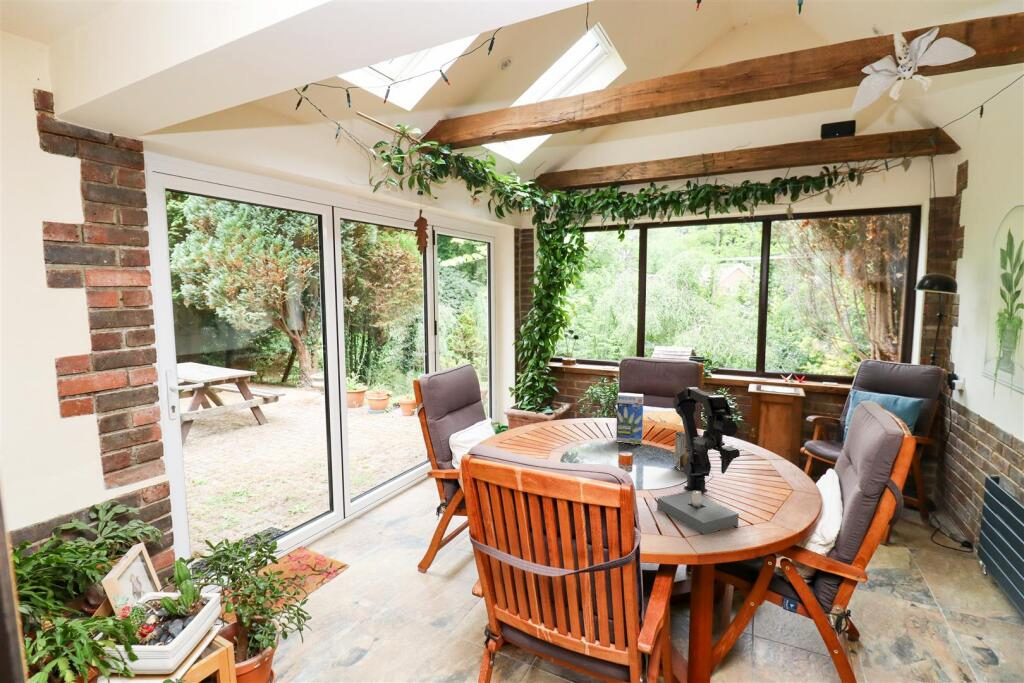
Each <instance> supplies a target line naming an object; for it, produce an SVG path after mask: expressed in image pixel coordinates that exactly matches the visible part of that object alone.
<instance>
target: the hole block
mask: <svg viewBox="0 0 1024 683" xmlns="http://www.w3.org/2000/svg"><path fill="white" fill-rule="evenodd" d="M656 502H657V503H656V505H657V508H656V509H657V510H659V511H660V512H662V513H664V514H666V515H668V516H670V517H671V518H674V519H675V520H677V521H679V522H680V523H682V524H684V525H686V526H688V527H689V528H691V529H693V530H695V531H696V532H698V533H700V534H701V535H707V534H710V533H711V534H712V533H714V532H717V531H720V530H725V529H728V528H732V527H735V526H738V525H739V516H740V515H739V513H738V512H737V511H734V510H732V509H730V508H728V507H725V506H723V505H722V504H720V503H717V502H715V501H713V500H711V499H709V498H707V497H705V496H703V495H701V508H700V509H695V508H693V507H692V491H689V490H687V491H683V492H678V493H674V494H669V495H665V496H662V497H661V496H660V497H658V498H657V501H656Z"/></svg>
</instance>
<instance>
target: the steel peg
mask: <svg viewBox="0 0 1024 683" xmlns="http://www.w3.org/2000/svg"><path fill="white" fill-rule="evenodd" d="M702 493H703V492H701V491H698V490H694V491H693V492H692V507H693V508H695V509H700V508H701V496H702Z"/></svg>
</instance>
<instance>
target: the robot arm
mask: <svg viewBox="0 0 1024 683" xmlns="http://www.w3.org/2000/svg"><path fill="white" fill-rule="evenodd" d="M672 402H673V405H672V406H673V407H674V410H675V412H676V414H677V415H678V416H679V417H681V418H680V419H681V421H682V426H683V429H684V430H683V432H685V435H686V440H687V444H688V449H689V454H688V457H687V464H686V465H685V466H684V467H683V474H684V475H685V476H686V477H687V478H686V479H687V480H686V481H687V482H686V483H687V484H686V485H685V486H683V489H685V490H687V491H692V492H693V491H694V490H698V491H701V492H702V493H704V492H708V489H707V488H706V477H710V473H711V470H712V464H711V461H710V458H709V451H710V450H713V451H716V452H719V456H718V458H719V459H720V462H721V464H720V465H721V466H720V470H721V474H723V475H724V474H725V473H726V471H727V470H728V468H729V466H730V464H731V463H732V462H733V460H734V459H737V458H740V453H741V452H740V450H739V448H736V447H733V446H726V447H724V446H725V444H726V443H725V442H723V440H724V439H723V438H724V436H726V437H733V436H735V434H737V432H738V425H737V423H736V422H735V421H734V420H733V416H732V414H733V413H732V409H731V407H730V405H729V403H728V402H729V401H728V400H727V398H726V396H725V395H722V394H711V393H709V392H707V391H704V390H702V389H700V388H699V387H697V386H687V387H685V388H684V389H683V390H682V391H681V392H679V393H677V394H676V395H675V397H674V399H673V401H672ZM699 403H700V404H702V407H703V408H704V409H705V411H704V414H705V415H706V427H705V428H706V430H703V432H702V435H701V436H700V437H699V436H698V435H699V432H698V429H697V425H696V424H697V423H696V419H695V412H696V409H697V404H699Z"/></svg>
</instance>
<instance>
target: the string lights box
mask: <svg viewBox="0 0 1024 683" xmlns="http://www.w3.org/2000/svg"><path fill="white" fill-rule="evenodd" d="M616 405H617V406H616V407H617V408H616V437H615V438H616V439H615V442H616V441H622V442H633V443H642V444H643V427H644V426H643V422H644V421H643V419H644V393H632V392H618V393H617V404H616Z"/></svg>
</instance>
